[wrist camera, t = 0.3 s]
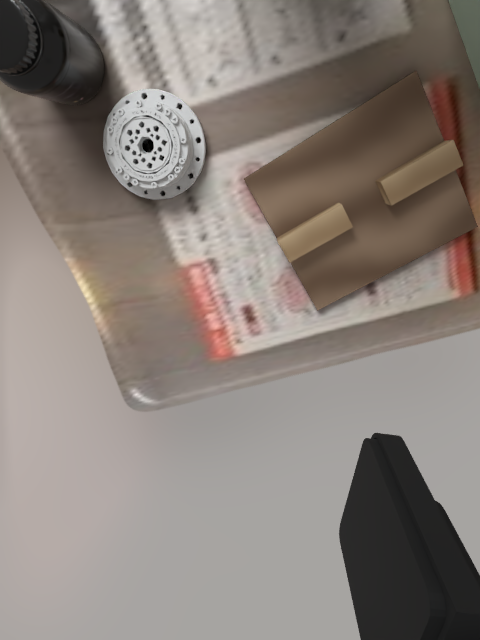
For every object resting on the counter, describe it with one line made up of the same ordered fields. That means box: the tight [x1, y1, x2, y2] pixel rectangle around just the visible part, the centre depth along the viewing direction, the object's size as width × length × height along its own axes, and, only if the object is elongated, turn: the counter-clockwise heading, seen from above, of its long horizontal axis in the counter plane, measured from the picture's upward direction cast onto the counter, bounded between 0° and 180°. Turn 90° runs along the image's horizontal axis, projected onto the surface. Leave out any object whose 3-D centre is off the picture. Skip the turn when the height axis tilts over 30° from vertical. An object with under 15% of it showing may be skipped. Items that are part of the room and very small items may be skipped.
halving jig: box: [244, 71, 478, 310], centre depth 40 cm, size 16×18×3 cm
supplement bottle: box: [0, 0, 104, 105], centre depth 33 cm, size 7×7×12 cm
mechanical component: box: [103, 89, 206, 200], centre depth 39 cm, size 10×4×10 cm
